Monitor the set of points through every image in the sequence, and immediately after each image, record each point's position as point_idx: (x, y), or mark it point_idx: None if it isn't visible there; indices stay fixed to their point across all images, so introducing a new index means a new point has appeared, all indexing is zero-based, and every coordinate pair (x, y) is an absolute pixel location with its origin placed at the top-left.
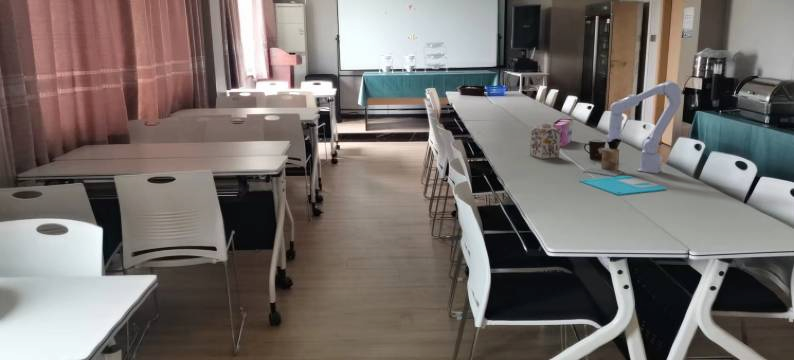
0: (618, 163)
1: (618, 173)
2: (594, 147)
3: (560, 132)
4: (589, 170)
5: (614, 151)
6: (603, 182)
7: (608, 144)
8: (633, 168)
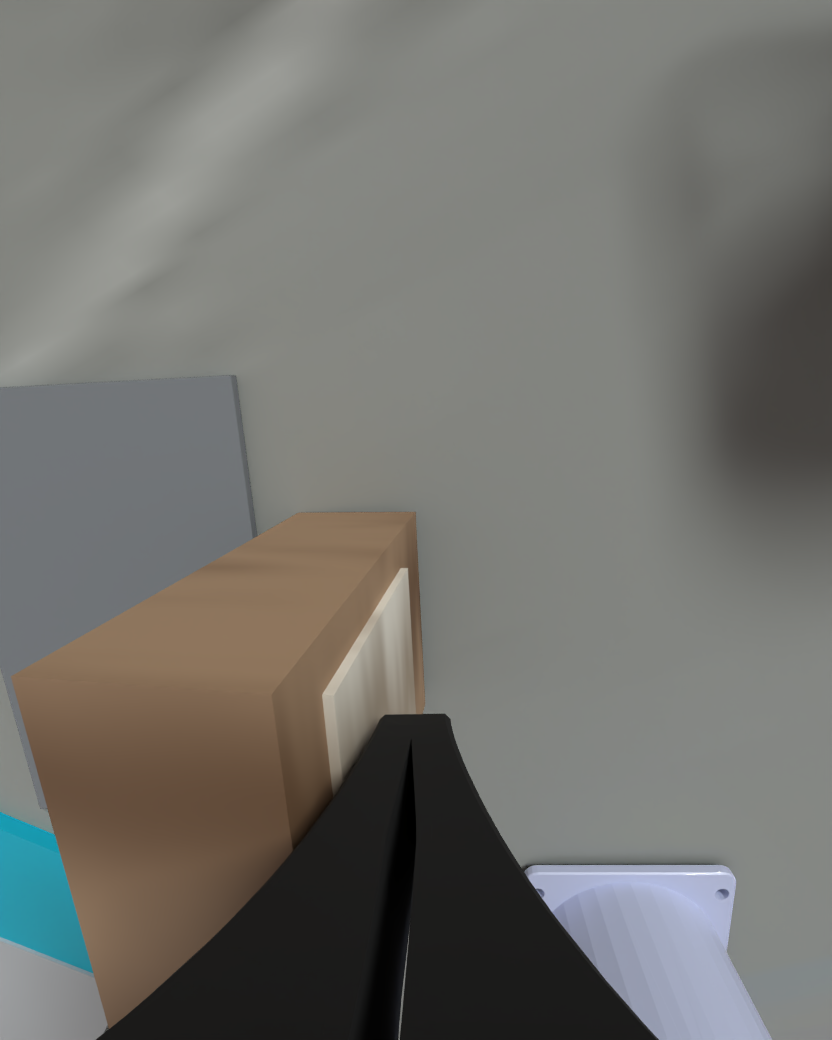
0: None
1: None
2: None
3: None
4: (29, 446)
5: (113, 994)
6: None
7: (200, 949)
8: (649, 792)
